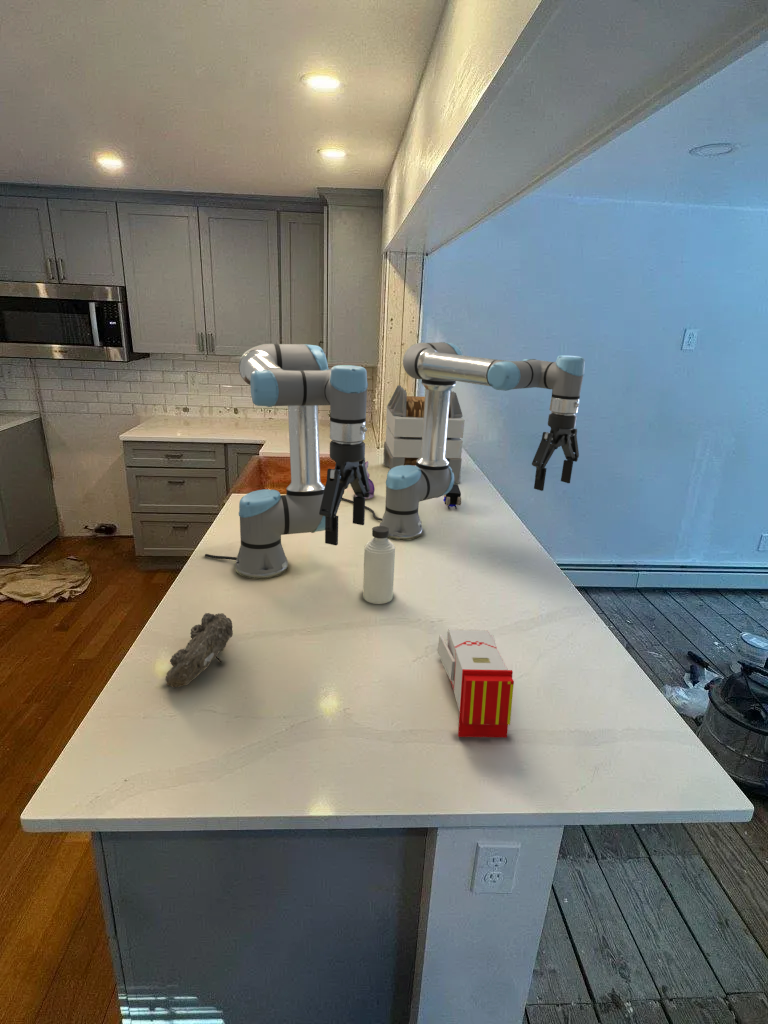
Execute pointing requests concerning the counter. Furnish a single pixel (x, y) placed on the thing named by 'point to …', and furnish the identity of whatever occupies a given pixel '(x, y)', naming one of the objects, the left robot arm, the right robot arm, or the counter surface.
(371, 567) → the bottle
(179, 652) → the fossil
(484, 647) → the toy
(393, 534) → the right robot arm
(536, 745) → the counter surface
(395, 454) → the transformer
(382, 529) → the cap
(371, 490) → the figurine
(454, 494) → the figurine character
